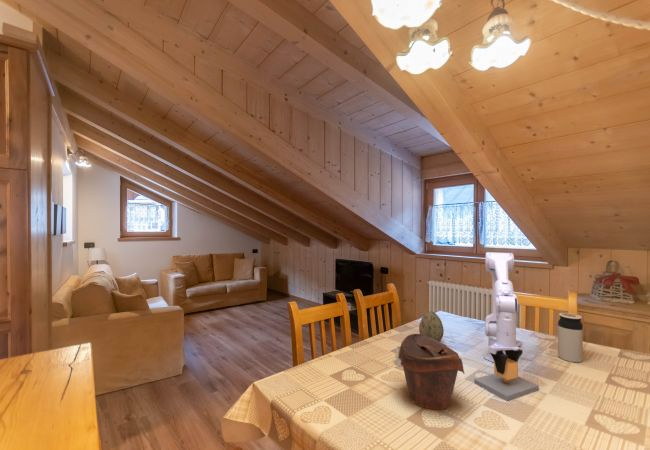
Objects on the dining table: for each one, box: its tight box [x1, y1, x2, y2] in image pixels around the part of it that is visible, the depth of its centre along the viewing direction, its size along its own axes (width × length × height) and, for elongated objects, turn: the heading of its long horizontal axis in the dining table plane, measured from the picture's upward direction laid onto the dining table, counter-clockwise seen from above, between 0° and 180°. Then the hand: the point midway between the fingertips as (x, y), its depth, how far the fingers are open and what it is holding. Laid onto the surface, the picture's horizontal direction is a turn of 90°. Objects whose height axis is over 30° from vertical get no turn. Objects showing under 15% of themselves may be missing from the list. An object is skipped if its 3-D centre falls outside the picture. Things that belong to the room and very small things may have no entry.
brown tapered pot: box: [398, 333, 465, 411], centre depth 98 cm, size 18×20×18 cm
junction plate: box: [473, 373, 540, 402], centre depth 106 cm, size 16×12×5 cm
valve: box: [394, 345, 403, 367], centre depth 123 cm, size 7×7×12 cm
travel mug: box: [557, 312, 584, 363], centre depth 129 cm, size 8×8×18 cm
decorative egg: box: [418, 310, 445, 342], centre depth 144 cm, size 11×11×15 cm
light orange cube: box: [493, 358, 519, 380], centre depth 106 cm, size 5×5×5 cm
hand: (505, 371), depth 106 cm, fingers closed on light orange cube, 5 cm apart
